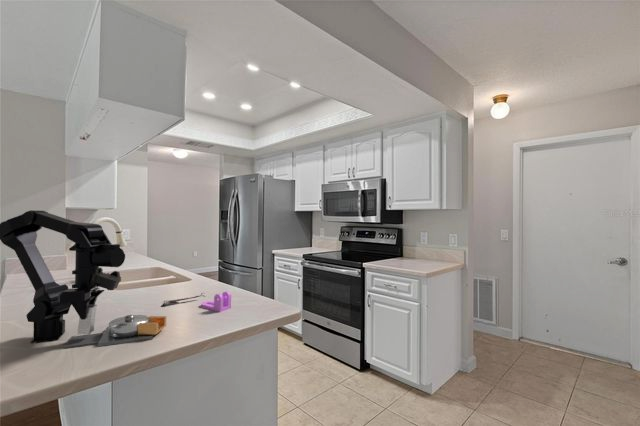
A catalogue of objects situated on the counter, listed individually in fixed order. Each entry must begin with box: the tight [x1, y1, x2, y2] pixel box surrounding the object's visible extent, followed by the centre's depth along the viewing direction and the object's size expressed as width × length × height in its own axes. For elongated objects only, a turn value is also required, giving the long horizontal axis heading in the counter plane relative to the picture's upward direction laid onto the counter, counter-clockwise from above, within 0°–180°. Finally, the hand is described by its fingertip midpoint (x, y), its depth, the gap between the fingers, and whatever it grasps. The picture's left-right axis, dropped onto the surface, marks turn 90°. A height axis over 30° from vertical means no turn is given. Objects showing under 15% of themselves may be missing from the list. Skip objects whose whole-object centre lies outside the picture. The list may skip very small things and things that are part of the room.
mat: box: [62, 332, 104, 350], centre depth 93 cm, size 8×8×1 cm
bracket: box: [200, 290, 232, 313], centre depth 128 cm, size 13×6×7 cm, turn 61°
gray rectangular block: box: [77, 304, 98, 335], centre depth 93 cm, size 3×3×8 cm
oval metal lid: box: [108, 314, 167, 337], centre depth 99 cm, size 16×11×4 cm
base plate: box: [97, 326, 154, 347], centre depth 99 cm, size 14×14×1 cm
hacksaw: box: [160, 292, 207, 308], centre depth 139 cm, size 24×10×2 cm, turn 135°
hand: (86, 317), depth 93 cm, fingers closed on gray rectangular block, 3 cm apart
